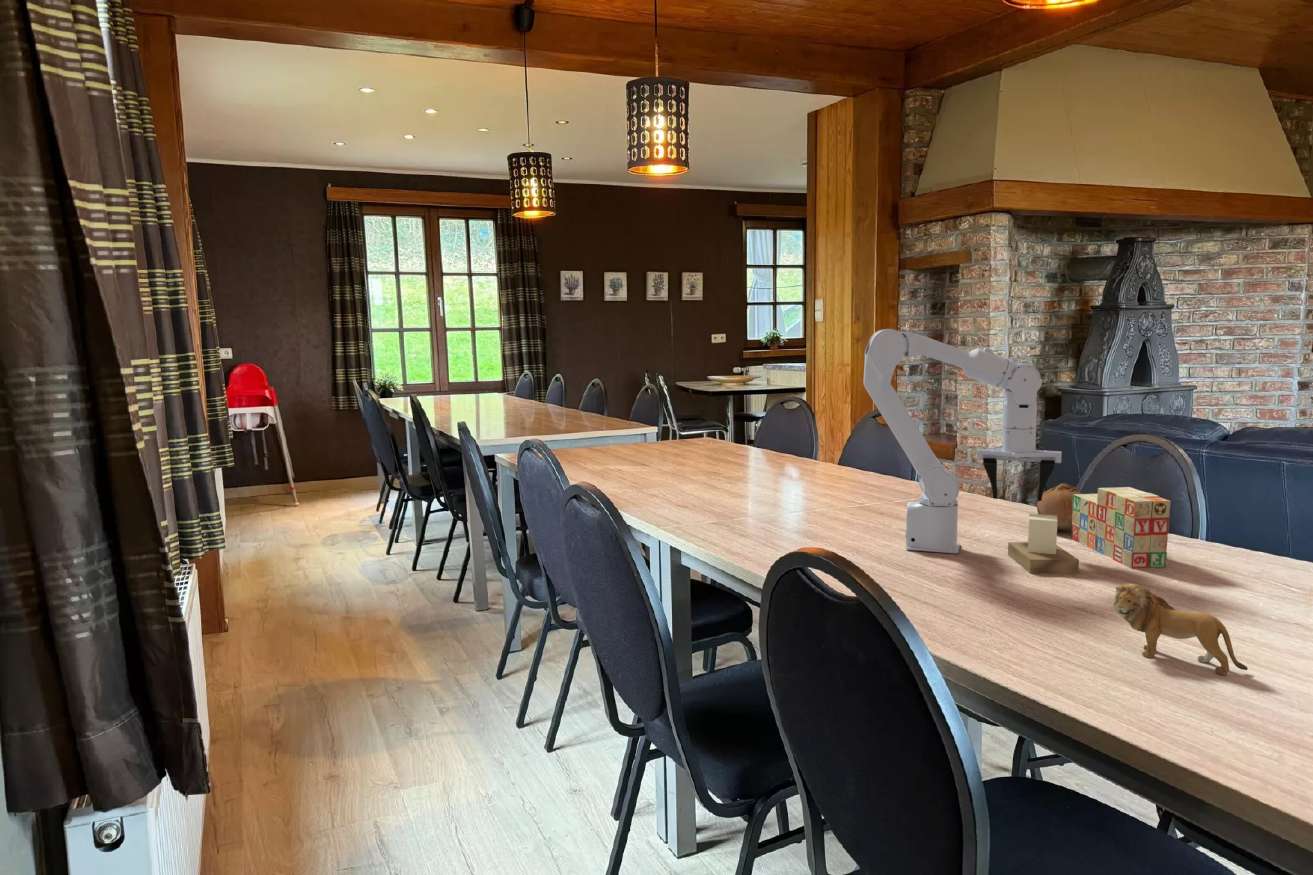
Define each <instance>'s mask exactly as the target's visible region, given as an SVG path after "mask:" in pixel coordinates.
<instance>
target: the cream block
mask: <svg viewBox="0 0 1313 875" xmlns="http://www.w3.org/2000/svg"><path fill="white" fill-rule="evenodd" d="M1057 536H1058V530H1057V516H1053V515H1039V514H1038V513H1037V514H1036V513H1029V514H1028V537H1027V539H1028V540H1027V542H1028V552H1033V553H1045V554H1056V545H1057V540H1058V539H1057Z"/></svg>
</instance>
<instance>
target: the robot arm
mask: <svg viewBox="0 0 1313 875" xmlns="http://www.w3.org/2000/svg"><path fill="white" fill-rule="evenodd" d="M918 356H924V357H926V358H931V359H933V360H936V361H937V360H938V361H940V362H943V363H947V364H949V365H953V366H956V367H959V368H961V369H962V371H963V373H964V375H965V377H966V378H969V379H972V380H974V381H977V382H980V383H983V384H986V385H989V386H992V387H996V388H1003V390H1004V402H1003V412H1002V413H1003V416H1002V417H1003V418H1002V444H1001V448H977V450H976V461H982V465H983V467H984V470H985V472H986V474H987V477H988V479H989V482H990V486H991V491H992V498H993V499H995V500H997V499H998V484H997V483H998V482H997V475H998V472H997V471H998V470H997V469H998V461H1008V462H1037V463H1038V462H1039V463H1038V485H1037V492H1036V500H1037V502H1038V501H1042V495H1043V493H1044V492H1045V488H1046V485H1047V483H1048V481H1049V479H1050V476H1051V474H1052V473H1053V471H1054V469H1055V467H1056V464H1061V463H1062V454H1063V452H1062V451H1058V450H1044V449H1043V450H1041V449H1036V441H1037V440H1036V436H1037V435H1036V434H1037V417H1038V416H1037V415H1038V404H1037V396H1038V395H1037V394H1038V393H1037V392H1038V391H1040V389H1041V386H1042V383H1043V379H1042V378H1041V374H1040V372H1039V370H1038V369H1037V368H1036V367H1035V366H1033V365H1031V364H1026V363H1022V362H1020V361H1018V358H1017V357H1013V356H1010V357H1009V358H1008V357H1006V356H1002V355H1000V354H996V353H994V352H993V348H990V347H984V348H975V349H973V350H971V351H965V350H963V349H960V348H957V347H954V346H951V345H949V344H946V343H944V342H941V341H938V340H936V339H933V338H930V337H928V336H925V335H923V334H922V335H921V334H918V333H917V334H916V333H911V332H904V331H898V330H896V329H892V328H884V329H880V330H877V331H876V332H874V333H873V334H872V335H871V337H870V338H869V341H868V343H867V344H866V347H865V350H864V365H863V366H864V367H863V368H864V369H863V382H862V383H863V387H864V389H865V391H867V393H868V395H869V397H870V398H871V400H872V401H873V403H874V405H875V407H876V408H877V409H878V411H879V413H880V415H881V416H882V418H883V419H884V422H886V424H887V425H888V427H889V429H890V431H891V432H892V434H893V436H894V437H895V439H896V440H897V442H898V444H899V446H900V447H901V448H902V451H903V452H904V453H905V455H906V457H907V458H908V459H909V461H910V463H911V465H912V467H913V468H914V470H915V471H916V473H917V475H918V485H919V487H920V489H921V490H922V493H921V495H920V497H919V498H918V501H908V503H907V507H906V529H905V540H906V541H905V543H906V544H905V546H906V547H905V550H908V551H918V552H919V551H920V552H932V553H933V552H934V553H944V554H959V550H960V545H961V543H960V541H958V516H959V514H958V513H959V512H958V510H959V503H958V502H959V500H958V499H957V498H958V496H959V494H960V483H959V481H958V479H957V478H956V477H955V476H954V475H953V473H951V472H950V471H949V470H948V468H946V467H945V466H943V464H942V463H941V461H940V460H939V459H938V458H937V456H936V454H935V453H934V451H933V450H932V449H931V447H930V445H929V443H928V442H927V440H926V439H925V437H924V436H923V434H922V433H921V431H920V429H919V427H918V426H917V424H916V422H915V421H914V420H913V417H912V416H911V414H910V412H909V411H908V410H907V408H906V406H905V405H904V403H903V401H902V399H901V398H900V396H899V395H898V393H897V391H896V390H895V388H894V387H893V385H892V383H891V382H892V379H893V375H894V372H895V370H896V369H895V368H896V366H897V365H898V364H899V362H900V361H901V360H902V359H903V357H907V358H913V357H918Z"/></svg>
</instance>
